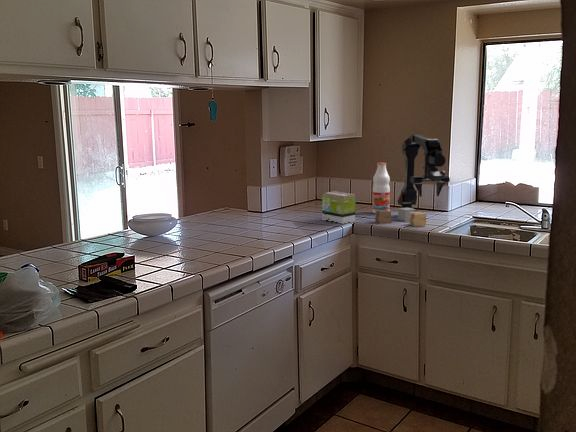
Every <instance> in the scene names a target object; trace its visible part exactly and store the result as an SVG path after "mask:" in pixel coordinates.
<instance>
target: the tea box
mask: <svg viewBox="0 0 576 432" xmlns="http://www.w3.org/2000/svg"><path fill="white" fill-rule="evenodd" d="M321 202H322V203H321V205H322V206H321V208H322V209H321V210H322V213H321V217H322V218H321V220H322V221H326V220H328V222H331V221H334V222H333V223H335V222H338V223H337V224H339V223H342V224H341V225H344V224H343V223H346V224H349V223H348V222H351V223H354V221H355V222H356V193H349V192H342V191H337V190H334V191H328V192H322V194H321Z"/></svg>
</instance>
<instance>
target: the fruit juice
mask: <svg viewBox="0 0 576 432" xmlns="http://www.w3.org/2000/svg"><path fill="white" fill-rule="evenodd" d="M376 165H377V168H376V171H375V174H374V176H373V179H372V181H373V186H372V208H371V209H372V213H373V214H374V213H375V214H374V215H376V210H389V211H391V210H390V204H391V199H390V198H391V197H390V196H391V187H390V181H391V177H390V175H389V172H388V171H387V162H377V164H376Z"/></svg>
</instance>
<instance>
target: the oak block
mask: <svg viewBox="0 0 576 432" xmlns="http://www.w3.org/2000/svg"><path fill="white" fill-rule="evenodd" d="M411 224H412V225H411ZM409 225H411V226H413V225H414V226H413V227H426V226H427V213H425V212H422V211H415V212H410V221H409ZM425 225H426V226H425Z"/></svg>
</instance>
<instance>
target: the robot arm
mask: <svg viewBox="0 0 576 432" xmlns="http://www.w3.org/2000/svg"><path fill="white" fill-rule="evenodd" d="M420 149H422V150H423V151H424V152H423V156H424V164H423V165H424V166H423V167H422V168H423V174H422V176H419V175H415V160H416V157H417V156H418V155H419V150H420ZM401 152H402V155H403V157H404V161H405V162H404V185H403V187H402V188H401V190H400V194H399V196H398V199H397V205H399V206H401V207H400V208H407V207H408V208H412V209H413V205H414V206H417V200H418V196H419V197H420V198H422V195H423V194H422V193H423V191H422V190H423V183H422V182H433V183H436V197H439V196H440V194H441V192H442V189H443V188H444V186H445V185H446V184H448V183H450V181H451V178H450V176H449V175H446V171H445V170H440V171H439V168H440V167H443V166H444V165H445V164H446V157H445V155H443V148H442V145H441V143H440V140H439V139H438V138H428V137H426V136H423V135H421V134H419V133H418V134H411V135H410V136H409V137H408V138H407V139H405V140H404V142H402V145H401ZM438 167H439V168H438ZM417 194H418V195H417Z"/></svg>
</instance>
